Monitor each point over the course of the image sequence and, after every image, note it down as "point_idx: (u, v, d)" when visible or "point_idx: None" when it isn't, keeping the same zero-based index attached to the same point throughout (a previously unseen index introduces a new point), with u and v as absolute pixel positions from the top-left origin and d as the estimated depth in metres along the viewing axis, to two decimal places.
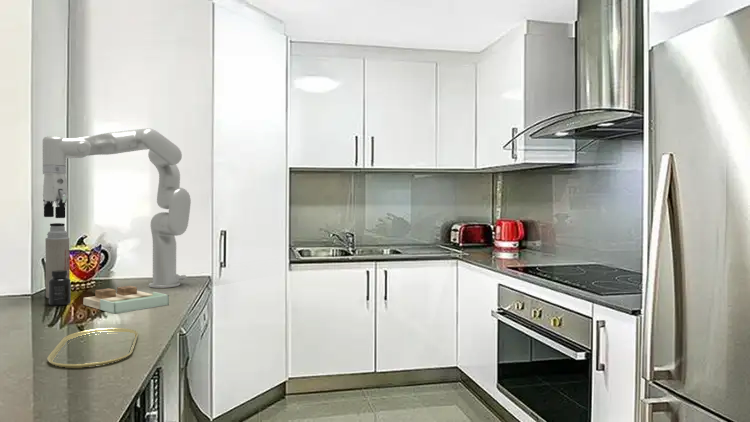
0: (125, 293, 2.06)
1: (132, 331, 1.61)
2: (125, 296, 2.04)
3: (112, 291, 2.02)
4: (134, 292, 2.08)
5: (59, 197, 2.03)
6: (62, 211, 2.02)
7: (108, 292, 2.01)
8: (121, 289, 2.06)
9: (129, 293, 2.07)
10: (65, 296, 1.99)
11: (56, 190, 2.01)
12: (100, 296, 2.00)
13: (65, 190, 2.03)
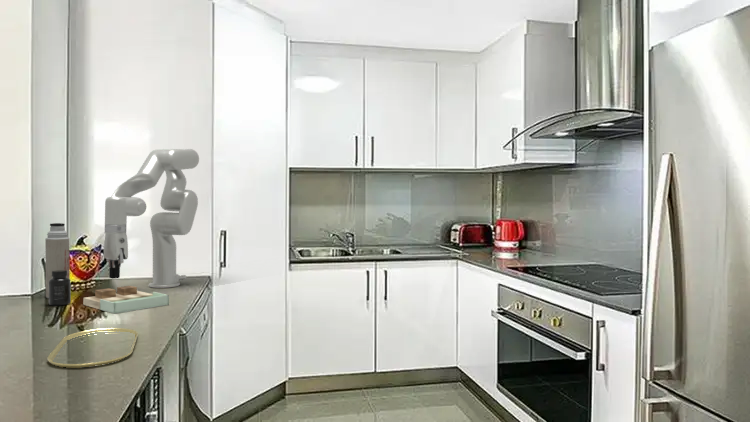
0: (125, 293, 2.06)
1: (132, 331, 1.61)
2: (125, 296, 2.04)
3: (112, 291, 2.02)
4: (134, 292, 2.08)
5: None
6: (117, 272, 2.12)
7: (108, 292, 2.01)
8: (121, 289, 2.06)
9: (129, 293, 2.07)
10: (65, 296, 1.99)
11: (118, 249, 2.09)
12: (100, 296, 2.00)
13: (126, 249, 2.11)
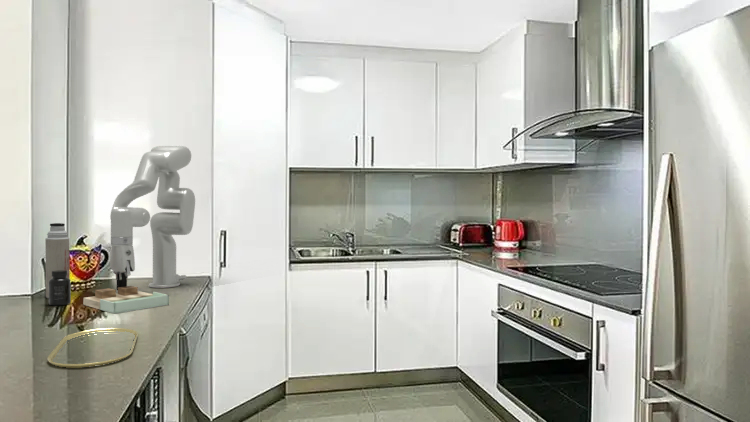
0: (126, 293, 2.05)
1: (132, 331, 1.61)
2: (125, 296, 2.04)
3: (112, 291, 2.02)
4: (135, 292, 2.08)
5: None
6: (124, 284, 2.10)
7: (108, 292, 2.01)
8: (122, 289, 2.06)
9: (130, 293, 2.06)
10: (65, 296, 1.99)
11: (124, 262, 2.06)
12: (100, 296, 2.00)
13: (132, 261, 2.09)
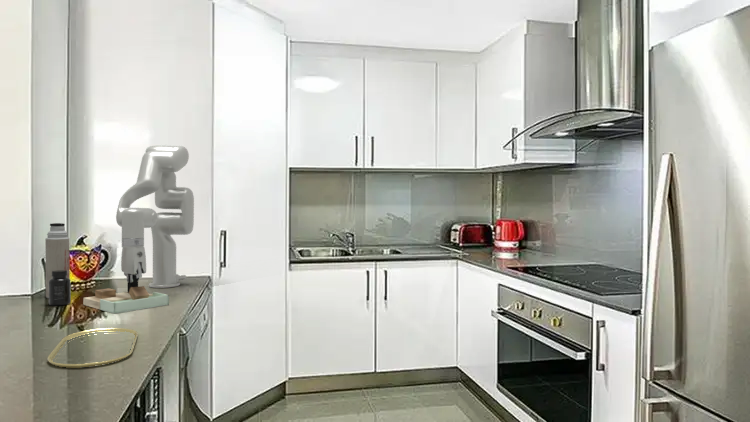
0: None
1: (132, 331, 1.61)
2: (125, 296, 2.04)
3: (112, 291, 2.02)
4: None
5: None
6: (135, 286, 2.05)
7: (108, 292, 2.01)
8: (133, 294, 2.01)
9: None
10: (65, 296, 1.99)
11: (136, 263, 2.01)
12: (100, 296, 2.00)
13: (144, 263, 2.04)
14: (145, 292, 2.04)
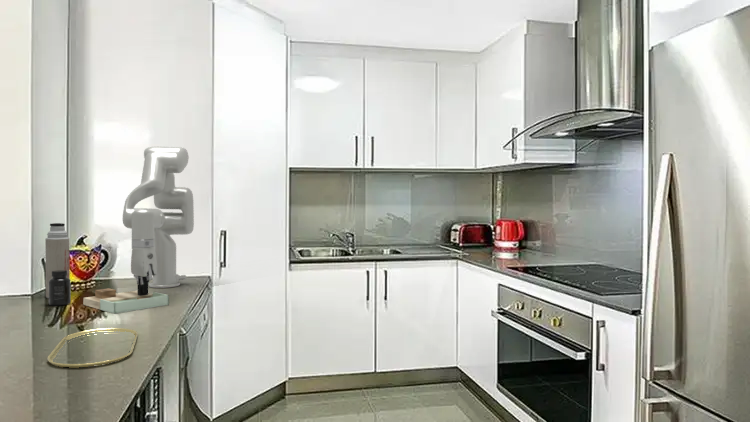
0: None
1: (132, 331, 1.61)
2: (125, 296, 2.04)
3: (112, 291, 2.02)
4: None
5: None
6: (145, 288, 2.01)
7: (108, 292, 2.01)
8: None
9: None
10: (65, 296, 1.99)
11: (146, 265, 1.97)
12: (100, 296, 2.00)
13: (154, 264, 2.00)
14: None
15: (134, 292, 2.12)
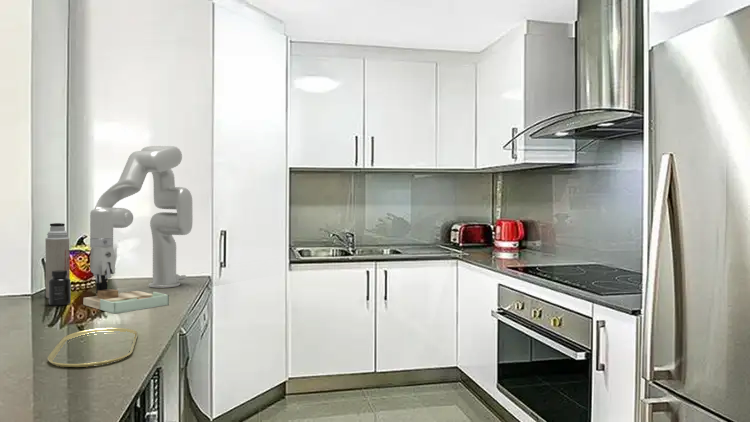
0: None
1: (131, 331, 1.61)
2: (125, 296, 2.04)
3: (114, 292, 2.01)
4: None
5: None
6: (104, 287, 2.03)
7: (110, 293, 2.00)
8: None
9: None
10: (65, 296, 1.99)
11: (104, 264, 1.99)
12: (102, 297, 1.99)
13: (113, 263, 2.02)
14: None
15: (134, 292, 2.12)
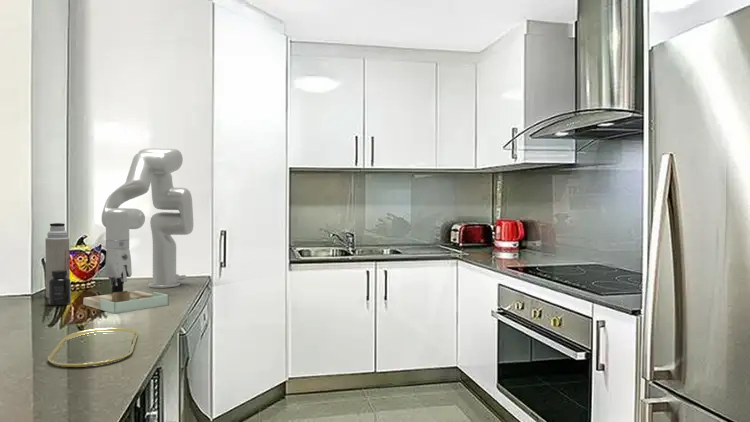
0: None
1: (131, 331, 1.61)
2: None
3: None
4: None
5: None
6: (120, 290, 1.96)
7: None
8: None
9: None
10: (65, 296, 1.99)
11: (121, 267, 1.92)
12: None
13: (129, 266, 1.95)
14: None
15: (134, 292, 2.12)
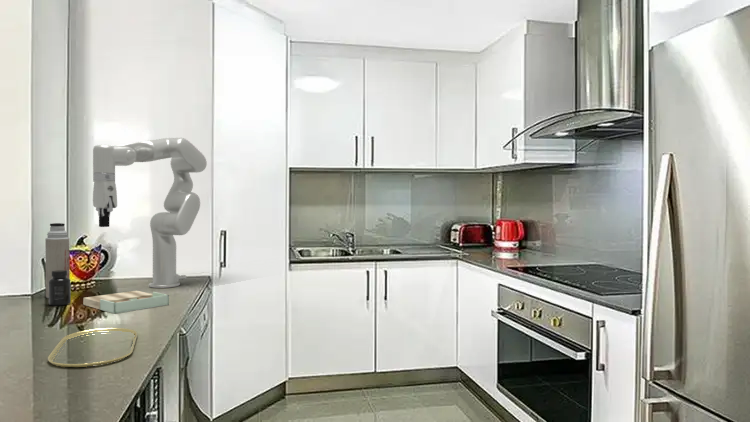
0: None
1: (131, 331, 1.61)
2: (125, 296, 2.04)
3: None
4: None
5: None
6: (106, 220, 2.12)
7: None
8: None
9: None
10: (65, 296, 1.99)
11: (107, 197, 2.08)
12: None
13: (115, 197, 2.10)
14: None
15: (134, 292, 2.12)
